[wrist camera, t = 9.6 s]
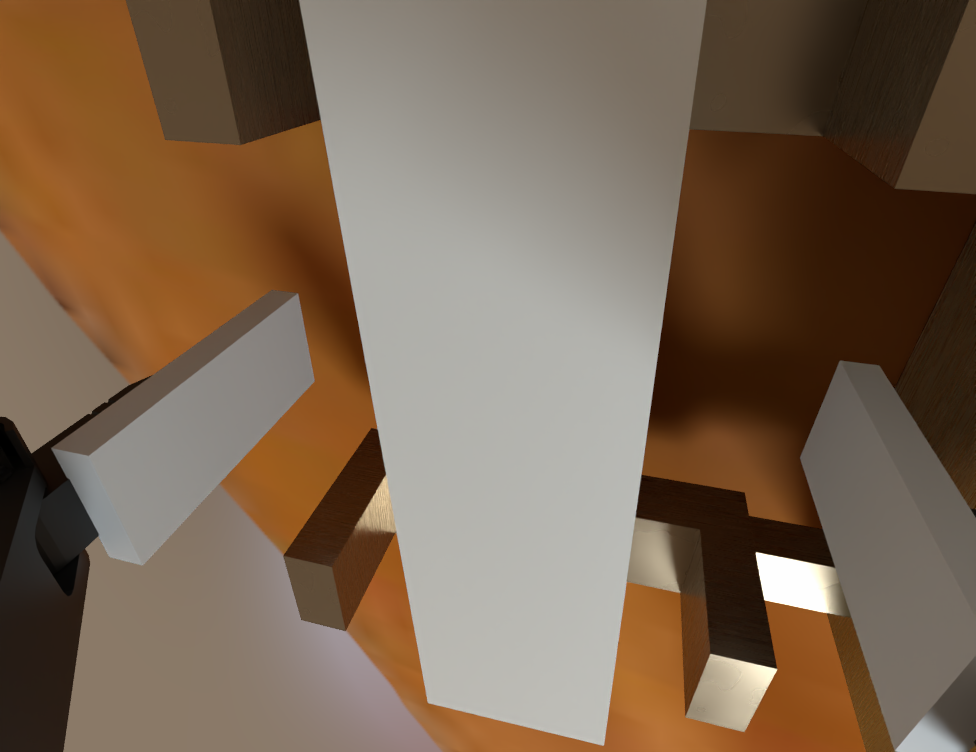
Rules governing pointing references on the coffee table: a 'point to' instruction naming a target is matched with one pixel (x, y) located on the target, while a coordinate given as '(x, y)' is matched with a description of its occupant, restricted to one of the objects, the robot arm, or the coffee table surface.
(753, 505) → the coffee table surface
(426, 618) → the rail
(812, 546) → the cup bracket
